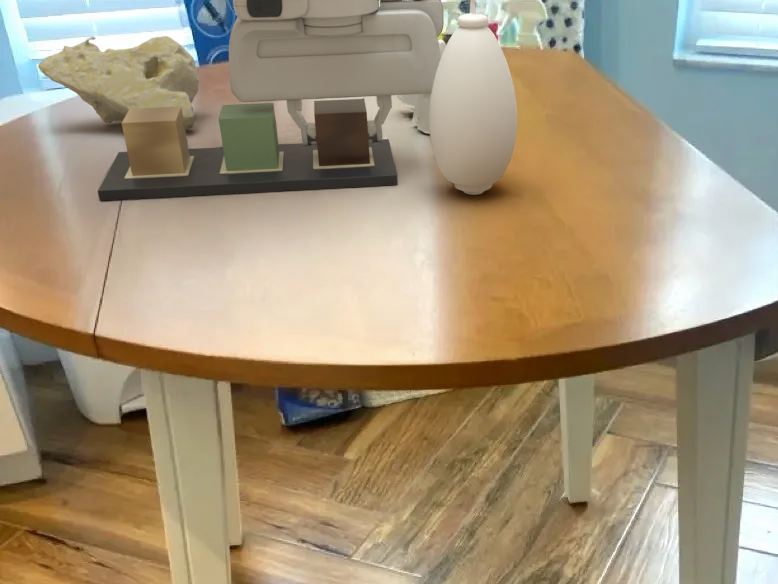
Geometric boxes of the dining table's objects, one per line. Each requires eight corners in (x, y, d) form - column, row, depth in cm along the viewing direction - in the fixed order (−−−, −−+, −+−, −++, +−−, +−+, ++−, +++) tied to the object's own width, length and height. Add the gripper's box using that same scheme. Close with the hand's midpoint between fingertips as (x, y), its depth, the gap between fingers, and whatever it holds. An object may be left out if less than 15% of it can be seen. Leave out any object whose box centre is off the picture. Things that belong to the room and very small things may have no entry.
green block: (226, 171, 93) (218, 118, 90) (229, 155, 97) (222, 104, 95) (278, 168, 94) (271, 116, 91) (279, 153, 98) (273, 102, 95)
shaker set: (396, 111, 114) (391, 10, 108) (430, 108, 116) (427, 7, 109) (424, 139, 105) (420, 30, 99) (460, 135, 106) (459, 27, 100)
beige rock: (233, 134, 114) (164, 36, 116) (228, 99, 107) (154, -5, 109) (119, 195, 111) (49, 94, 112) (106, 163, 104) (31, 55, 105)
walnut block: (319, 166, 94) (314, 114, 91) (318, 151, 98) (313, 100, 95) (370, 163, 95) (366, 111, 92) (367, 148, 99) (364, 98, 96)
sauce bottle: (530, 187, 92) (536, -22, 82) (485, 211, 86) (486, -8, 76) (462, 173, 95) (460, -28, 85) (416, 195, 90) (407, -16, 80)
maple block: (132, 175, 92) (121, 122, 90) (139, 159, 97) (129, 108, 94) (185, 172, 93) (175, 120, 90) (190, 157, 97) (181, 106, 94)
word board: (99, 201, 90) (97, 189, 89) (120, 161, 100) (118, 151, 99) (397, 185, 93) (397, 173, 92) (389, 148, 102) (388, 137, 102)
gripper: (439, -20, 91) (442, 128, 99) (221, -12, 89) (242, 138, 97) (446, -9, 86) (449, 146, 94) (215, -1, 84) (238, 157, 92)
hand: (342, 142), depth 96 cm, fingers closed on walnut block, 5 cm apart
